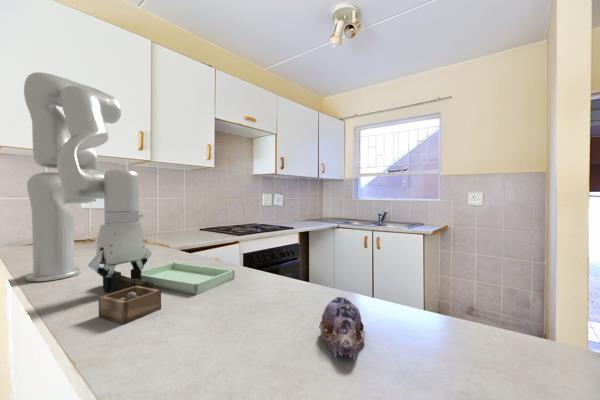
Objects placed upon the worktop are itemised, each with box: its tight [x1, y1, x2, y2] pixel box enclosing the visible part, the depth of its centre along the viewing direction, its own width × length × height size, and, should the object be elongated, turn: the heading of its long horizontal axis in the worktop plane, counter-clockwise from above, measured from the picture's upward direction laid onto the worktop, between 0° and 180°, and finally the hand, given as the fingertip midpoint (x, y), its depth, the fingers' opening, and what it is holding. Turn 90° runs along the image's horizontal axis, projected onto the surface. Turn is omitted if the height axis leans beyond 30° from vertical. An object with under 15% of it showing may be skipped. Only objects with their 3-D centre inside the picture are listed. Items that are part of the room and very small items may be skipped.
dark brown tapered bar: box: [112, 270, 154, 291], centre depth 72 cm, size 19×4×5 cm, turn 58°
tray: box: [141, 261, 235, 295], centre depth 81 cm, size 25×15×2 cm, turn 65°
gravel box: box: [98, 285, 162, 325], centre depth 58 cm, size 8×8×4 cm
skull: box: [318, 296, 366, 361], centre depth 46 cm, size 12×8×6 cm, turn 168°
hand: (123, 287), depth 72 cm, fingers open, 6 cm apart
